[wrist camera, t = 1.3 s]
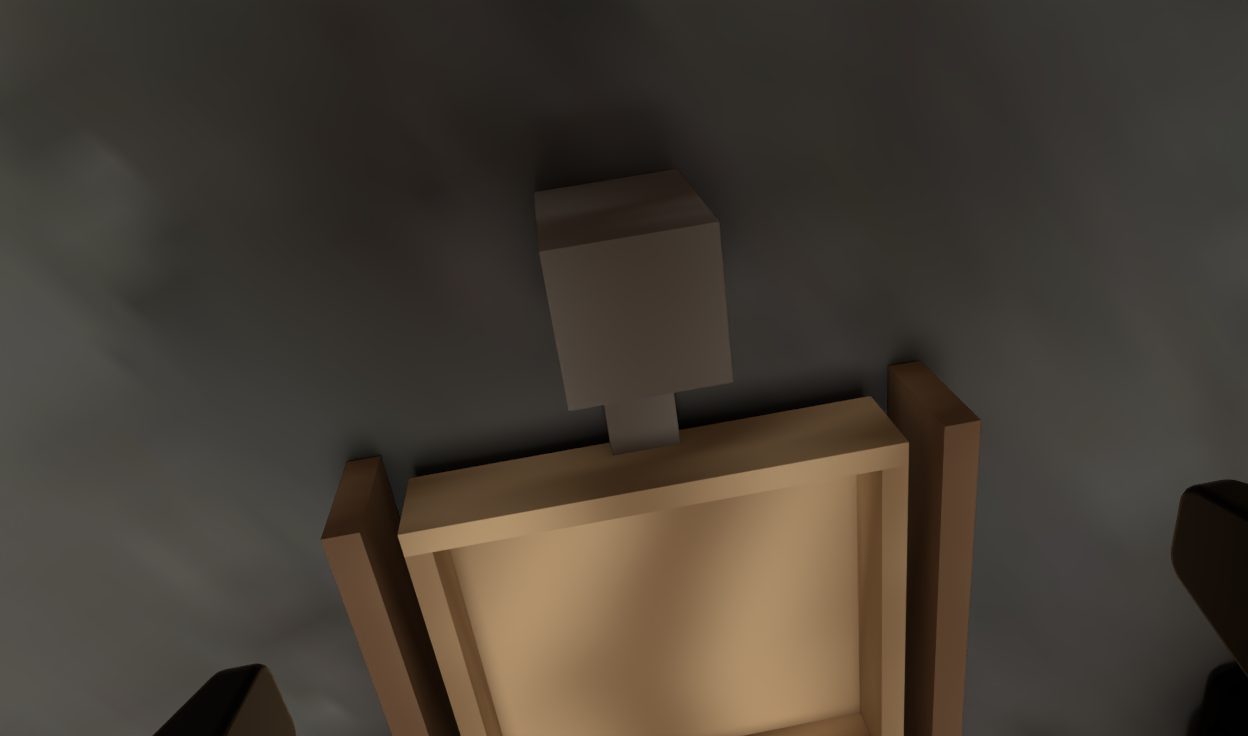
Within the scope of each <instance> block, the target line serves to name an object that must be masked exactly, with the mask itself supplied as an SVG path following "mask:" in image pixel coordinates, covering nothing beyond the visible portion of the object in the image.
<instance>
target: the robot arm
mask: <svg viewBox="0 0 1248 736" xmlns="http://www.w3.org/2000/svg"><path fill="white" fill-rule="evenodd" d="M1171 561H1172V564H1173V568H1174V570H1175V572H1176V575H1177V576H1178V578H1179V580H1180V581H1181V583H1182V584H1183V586H1184V587H1185V589H1186V590H1187V591H1188V593H1189V594H1190V596H1191V597H1192V599H1193V600H1194V601H1195V603H1196V604H1197V606H1198V607H1199V609H1200V610H1201V611H1202V613H1203V614H1204V616H1205V617H1206V619H1207V620H1208V622H1209V623H1210V624H1211V626H1212V627H1213V629H1214V630H1215V632H1216V633H1217V634H1218V636H1219V637H1220V639H1221V640H1222V642H1223V643H1224V644H1225V646H1226V647H1227V649H1228V650H1229V652H1230V653H1231V655H1232V656H1233V657H1234V659H1235V660H1236V662H1237V663H1238V665H1239V666H1240V667H1236V668H1231V669H1228V670H1225V671H1223V672H1221V673H1219V674H1218V675H1217V676H1216V677H1215V678H1214V680H1213V682H1212V684H1211V688H1210V692H1209V697H1208V701H1207V705H1206V709H1205V713H1204V717H1203V721H1202V726H1201V730H1200V734H1199V736H1248V484H1246V483H1243V482H1240V481H1236V480H1219V481H1214V482H1208V483H1203V484H1198V485H1194V486H1191V487H1189V488H1187V489H1186V491H1185V492H1184V493H1183V495H1182V496H1181V499H1180V504H1179V509H1178V515H1177V520H1176V525H1175V531H1174V536H1173V541H1172V547H1171ZM153 736H296V731H295V726H294V723H293V720H292V718H291V716H290V713H289V711H288V709H287V707H286V704H285V702H284V700H283V698H282V695H281V693H280V691H279V689H278V686H277V684H276V682H275V680H274V677H273V675H272V673H271V672H270V670H269V669H268V668H267V667H266V666H265V665H263V664H251V665H246V666H240V667H235V668H230V669H225V670H222V671H219V672H218V673H216V674H215V675H214V676H213V677H211V678H210V679H209V680H208V681H207V682H206V683H205V684H204V685H203V686H202V687H201V688H200V689H199V690H198V691H197V692H196V693H195V694H194V695H193V696H192V697H191V698H190V699H189V700H188V701H187V702H186V703H185V704H184V705H183V706H182V707H181V708H180V709H179V710H178V711H177V712H176V713H175V714H174V715H173V716H172V717H171V718H170V719H169V720H168V721H167V722H166V723H165V724H164V725H163V726H162V727H161V728H160V729H159V730H158V731H157V732H156V733H155V734H154V735H153Z"/></svg>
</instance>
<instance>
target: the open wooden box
mask: <svg viewBox="0 0 1248 736" xmlns="http://www.w3.org/2000/svg"><path fill="white" fill-rule="evenodd" d="M888 417H889V419H890V420H891V421H892V422H893V424H894V425H895V426H896V427H897V428H898V430H899V431H900V432H901V433H902V434H903V436H904V437H905V438H906V439H907V440H908V442H909V468H908V522H907V576H906V630H905V684H904V736H962V720H963V704H964V688H965V672H966V656H967V640H968V624H969V608H970V592H971V575H972V559H973V543H974V527H975V511H976V495H977V479H978V463H979V447H980V431H981V420H980V419H979V418H978V417H977V416H976V415H975V414H974V413H973V412H972V411H971V410H970V409H969V408H968V407H967V406H966V405H965V404H964V403H963V402H962V401H961V400H960V399H959V398H958V397H957V396H956V395H955V394H954V393H953V392H952V391H951V390H950V389H949V388H948V387H947V386H946V385H945V384H943V383H942V382H941V381H940V380H939V379H938V378H937V377H936V376H935V375H934V374H933V373H932V372H931V371H930V370H929V369H928V368H927V367H926V366H925V365H924V364H923V363H922V362H921V361H915V362H910V363H904V364H899V365H893V366H888ZM399 525H400V517H399V514H398V511H397V508H396V505H395V501H394V498H393V495H392V492H391V488H390V485H389V482H388V479H387V476H386V472H385V469H384V466H383V463H382V460H381V456H379V457H373V458H367V459H362V460H356V461H350V462H347V463H346V466H345V469H344V472H343V475H342V478H341V481H340V483H339V486H338V489H337V492H336V495H335V498H334V501H333V504H332V507H331V510H330V513H329V516H328V519H327V522H326V525H325V528H324V531H323V534H322V537H321V542H322V545H323V548H324V550H325V553H326V556H327V559H328V561H329V564H330V567H331V569H332V572H333V575H334V578H335V580H336V583H337V586H338V588H339V591H340V594H341V597H342V599H343V602H344V605H345V607H346V610H347V613H348V616H349V618H350V621H351V624H352V627H353V629H354V632H355V635H356V637H357V640H358V643H359V646H360V648H361V651H362V654H363V656H364V659H365V662H366V665H367V667H368V670H369V673H370V676H371V678H372V681H373V684H374V686H375V689H376V692H377V695H378V697H379V700H380V703H381V705H382V708H383V711H384V714H385V716H386V719H387V722H388V725H389V727H390V730H391V733H392V735H393V736H461V735H460V731H459V728H458V725H457V722H456V719H455V716H454V712H453V709H452V706H451V703H450V700H449V697H448V693H447V690H446V687H445V684H444V681H443V678H442V674H441V671H440V668H439V665H438V662H437V659H436V655H435V652H434V649H433V646H432V643H431V640H430V636H429V633H428V630H427V627H426V624H425V621H424V617H423V614H422V611H421V608H420V605H419V602H418V598H417V595H416V592H415V589H414V586H413V583H412V579H411V576H410V573H409V570H408V567H407V564H406V560H405V557H404V554H403V551H402V548H401V545H400V541H399V538H398V530H399Z"/></svg>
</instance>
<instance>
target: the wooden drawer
mask: <svg viewBox="0 0 1248 736" xmlns="http://www.w3.org/2000/svg"><path fill="white" fill-rule="evenodd" d="M534 203H535V215H536V226H537V238H538V249H539V256H540V261H541V267H542V272H543V277H544V282H545V288H546V293H547V298H548V304H549V309H550V314H551V320H552V325H553V330H554V336H555V341H556V346H557V352H558V357H559V362H560V367H561V373H562V378H563V383H564V389H565V394H566V399H567V405H568V410H569V411H573V410H579V409H584V408H590V407H596V406H601V405H604V411H605V417H606V423H607V429H608V435H609V441H610V443H605V444H599V445H593V446H588V447H582V448H577V449H571V450H565V451H560V452H554V453H549V454H543V455H537V456H532V457H526V458H521V459H515V460H509V461H504V462H498V463H492V464H487V465H481V466H476V467H470V468H464V469H459V470H453V471H448V472H442V473H436V474H431V475H425V476H420V477H414V478H409V481H408V486H407V491H406V496H405V501H404V505H403V510H402V515H401V520H400V525H399V530H398V538H399V541H400V545H401V548H402V551H403V554H404V557H405V560H406V564H407V567H408V570H409V573H410V576H411V579H412V583H413V586H414V589H415V592H416V595H417V598H418V602H419V605H420V608H421V611H422V614H423V617H424V621H425V624H426V627H427V630H428V633H429V636H430V640H431V643H432V646H433V649H434V652H435V655H436V659H437V662H438V665H439V668H440V671H441V674H442V678H443V681H444V684H445V687H446V690H447V693H448V697H449V700H450V703H451V706H452V709H453V712H454V716H455V719H456V722H457V725H458V728H459V731H460V735H461V736H904V684H905V630H906V576H907V522H908V468H909V442H908V440H907V439H906V438H905V437H904V436H903V434H902V433H901V432H900V431H899V430H898V428H897V427H896V426H895V425H894V424H893V422H892V421H891V420H890V419H889V417H888V416H887V415H886V414H885V413H884V411H883V410H882V409H881V408H880V407H879V405H878V404H877V403H876V402H875V401H874V399H873V398H872V397H871V396H868V397H862V398H857V399H851V400H846V401H840V402H834V403H829V404H823V405H818V406H812V407H806V408H801V409H795V410H790V411H784V412H778V413H773V414H767V415H762V416H756V417H750V418H745V419H739V420H733V421H728V422H722V423H717V424H711V425H705V426H700V427H694V428H689V429H683V430H678V421H677V413H676V405H675V397H674V393H675V392H681V391H687V390H692V389H698V388H704V387H709V386H715V385H721V384H726V383H732V382H733V374H732V362H731V351H730V339H729V328H728V316H727V305H726V293H725V282H724V270H723V259H722V247H721V236H720V224H719V221H718V219H717V218H716V217H715V216H714V214H713V213H712V212H711V211H710V209H709V208H708V207H707V206H706V204H705V203H704V202H703V201H702V199H701V198H700V197H699V196H698V194H697V193H696V192H695V191H694V189H693V188H692V187H691V186H690V184H689V183H688V182H687V181H686V179H685V178H684V177H683V176H682V174H681V173H680V172H679V171H678V169H673V170H667V171H661V172H655V173H649V174H642V175H636V176H630V177H624V178H618V179H612V180H606V181H600V182H594V183H587V184H581V185H575V186H569V187H563V188H557V189H551V190H545V191H539V192H534Z"/></svg>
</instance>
